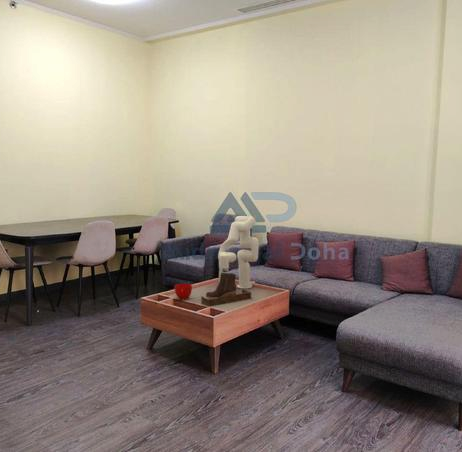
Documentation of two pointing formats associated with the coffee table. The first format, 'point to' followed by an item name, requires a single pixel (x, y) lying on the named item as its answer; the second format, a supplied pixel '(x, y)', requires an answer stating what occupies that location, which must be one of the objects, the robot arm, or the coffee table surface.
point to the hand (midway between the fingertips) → (224, 293)
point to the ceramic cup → (183, 291)
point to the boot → (224, 286)
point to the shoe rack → (226, 298)
